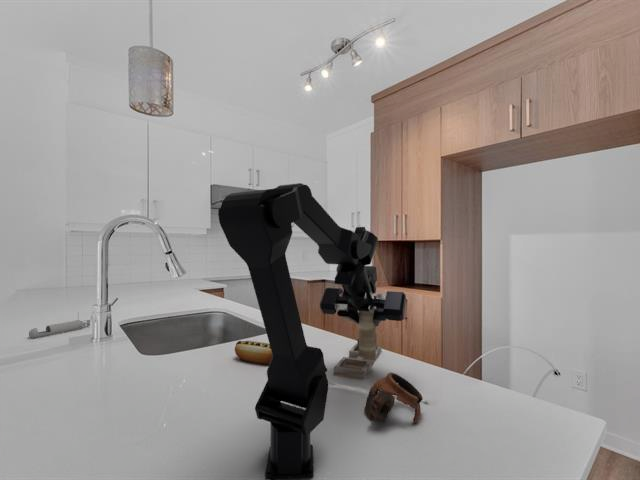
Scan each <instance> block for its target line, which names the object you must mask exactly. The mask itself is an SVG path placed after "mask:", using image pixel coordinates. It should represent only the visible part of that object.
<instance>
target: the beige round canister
mask: <svg viewBox="0 0 640 480" xmlns="http://www.w3.org/2000/svg"><path fill="white" fill-rule="evenodd" d="M373 315H374V310H369V311H359V356H360V357H363V358H374V357H376V346H377V326H376V325H375V323H374V321H373Z"/></svg>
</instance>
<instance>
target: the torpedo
mask: <svg viewBox="0 0 640 480" xmlns="http://www.w3.org/2000/svg"><path fill="white" fill-rule="evenodd" d="M90 326H91V319H87V320H80V318H79V311H77V320H72V321H67V322H66V321H65V322H61V323H59V322H58V323H55V324H50V325H46V327H45V330H44V331H39V330H38V327H37V328H36V327H34V328H32V329H30V330H29V331H28V337H29V338H31V339H38V338H39V337H40V338H45V337H49V335H50V336H53V334H55V335H57V334H58V333H60V334H63V333H62V332H64V333H68V331H69V332H74V331H79V330H81V329H82V328H84V327H90ZM78 329H79V330H78ZM73 330H74V331H73ZM58 335H59V334H58ZM44 336H45V337H44Z"/></svg>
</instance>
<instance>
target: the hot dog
mask: <svg viewBox="0 0 640 480" xmlns="http://www.w3.org/2000/svg"><path fill="white" fill-rule="evenodd" d="M234 353H235V355H236V356H237V357H238V358H239V359H240V360H243V361H246V362H249V363H254V364H261V365H262V364H263V365H269V364H270V361H271V359H272V351H271V347H270V343H269V342H261V341H254V340H239V341H237V342H236V343H235V347H234Z"/></svg>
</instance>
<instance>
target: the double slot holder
mask: <svg viewBox="0 0 640 480" xmlns="http://www.w3.org/2000/svg"><path fill="white" fill-rule="evenodd" d="M382 352H383V350H382V346H380V345H376V357H374V358H363V357H360V356H359V351H357V343H355V345H353V346H352V347H351V348H350V350H349V351H348V357H346V356H343V357H342V358H341V359H340V360H338V362H337V363H336V364H335V365H334V366H333V373H332V376H335V377H341V378H347V379H348V378H349V379H354V380H359V381H364V379H365V378H366V376H367V375H368V374H369V372H370V371H371V369H372V368H373V366H374V364H375V363H376V362H377V359H378V358H379V356H380V355H381V353H382Z"/></svg>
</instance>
